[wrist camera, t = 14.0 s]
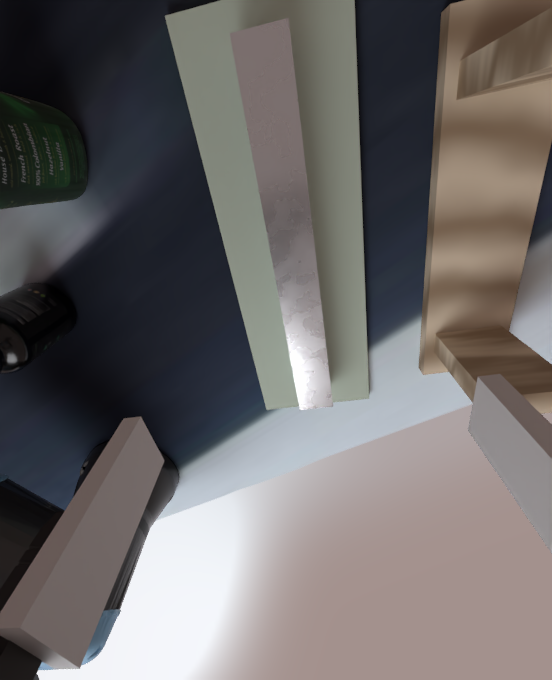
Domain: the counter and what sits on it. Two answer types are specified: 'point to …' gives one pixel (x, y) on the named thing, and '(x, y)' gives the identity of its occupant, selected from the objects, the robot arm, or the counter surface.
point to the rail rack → (486, 191)
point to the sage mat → (321, 169)
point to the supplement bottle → (32, 323)
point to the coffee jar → (38, 154)
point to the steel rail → (285, 198)
